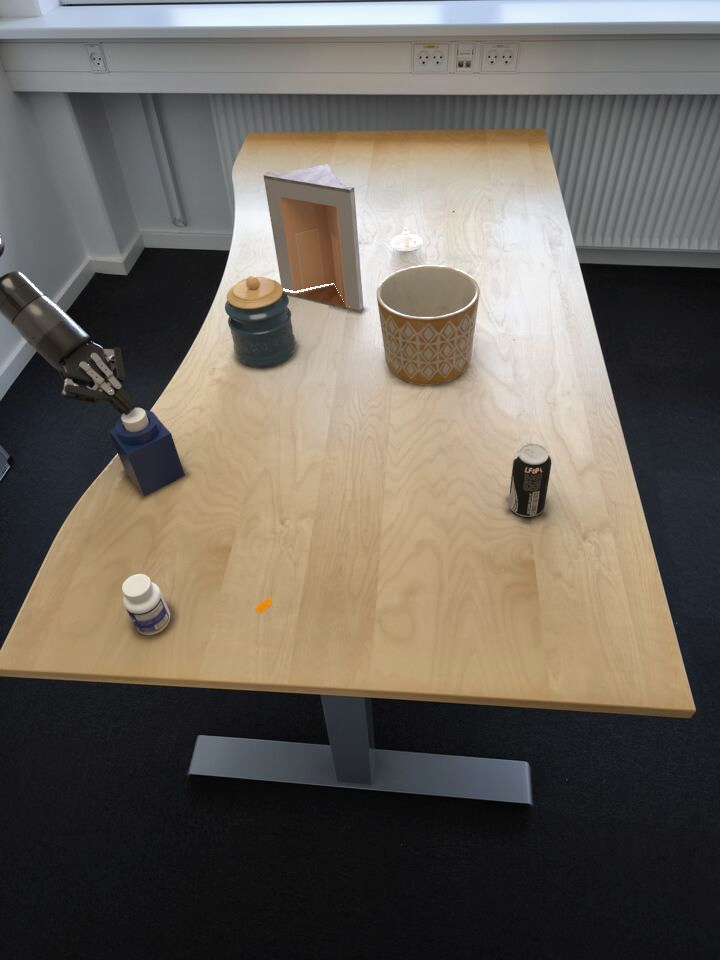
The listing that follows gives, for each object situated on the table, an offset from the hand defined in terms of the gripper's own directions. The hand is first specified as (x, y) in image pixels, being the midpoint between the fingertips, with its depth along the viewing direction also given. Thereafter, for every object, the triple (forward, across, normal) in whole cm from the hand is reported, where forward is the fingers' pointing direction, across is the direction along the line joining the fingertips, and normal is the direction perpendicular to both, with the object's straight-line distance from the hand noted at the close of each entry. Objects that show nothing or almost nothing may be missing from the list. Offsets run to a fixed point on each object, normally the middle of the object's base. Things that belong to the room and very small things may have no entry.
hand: (131, 410), depth 121 cm
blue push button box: (+10, 0, +10) cm, 15 cm away
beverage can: (+54, +20, -33) cm, 67 cm away
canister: (+9, +40, +12) cm, 42 cm away
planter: (+32, +50, -11) cm, 60 cm away
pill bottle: (+25, -25, -4) cm, 35 cm away
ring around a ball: (+15, +91, +6) cm, 92 cm away
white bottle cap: (+2, 0, +2) cm, 3 cm away
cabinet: (+9, +66, +11) cm, 67 cm away
